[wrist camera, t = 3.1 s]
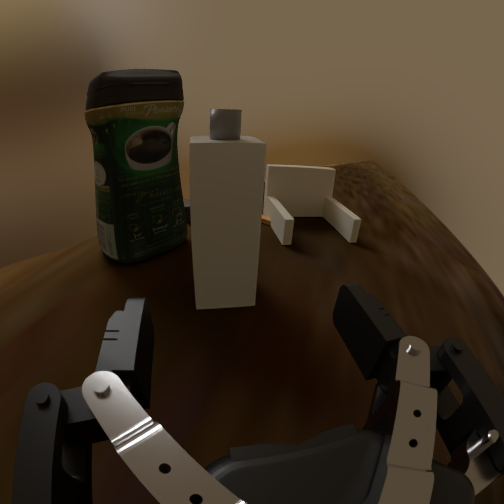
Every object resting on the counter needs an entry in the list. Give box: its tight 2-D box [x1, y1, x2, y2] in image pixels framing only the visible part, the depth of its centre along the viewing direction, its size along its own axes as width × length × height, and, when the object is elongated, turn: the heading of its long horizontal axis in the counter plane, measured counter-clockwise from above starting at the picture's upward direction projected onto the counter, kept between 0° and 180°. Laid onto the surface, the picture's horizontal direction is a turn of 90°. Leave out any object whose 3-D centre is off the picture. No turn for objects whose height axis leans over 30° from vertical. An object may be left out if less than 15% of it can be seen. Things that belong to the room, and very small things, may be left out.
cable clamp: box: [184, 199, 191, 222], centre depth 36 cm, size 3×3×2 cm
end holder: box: [263, 164, 361, 245], centre depth 34 cm, size 10×9×7 cm
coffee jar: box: [85, 69, 187, 263], centre depth 25 cm, size 10×8×19 cm
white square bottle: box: [190, 109, 266, 309], centre depth 20 cm, size 4×4×14 cm
